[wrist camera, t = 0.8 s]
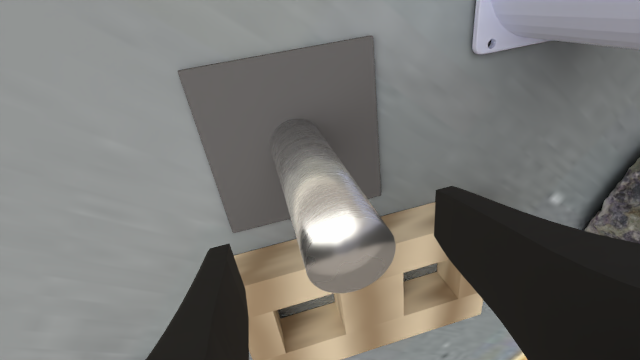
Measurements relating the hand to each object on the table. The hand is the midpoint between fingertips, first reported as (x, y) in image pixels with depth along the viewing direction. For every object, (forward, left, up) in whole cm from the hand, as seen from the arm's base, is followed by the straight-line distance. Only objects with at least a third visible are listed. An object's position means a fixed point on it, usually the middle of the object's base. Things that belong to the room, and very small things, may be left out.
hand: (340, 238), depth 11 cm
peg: (0, 0, -9) cm, 9 cm away
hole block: (-3, +12, -9) cm, 16 cm away
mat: (0, 0, -9) cm, 9 cm away
